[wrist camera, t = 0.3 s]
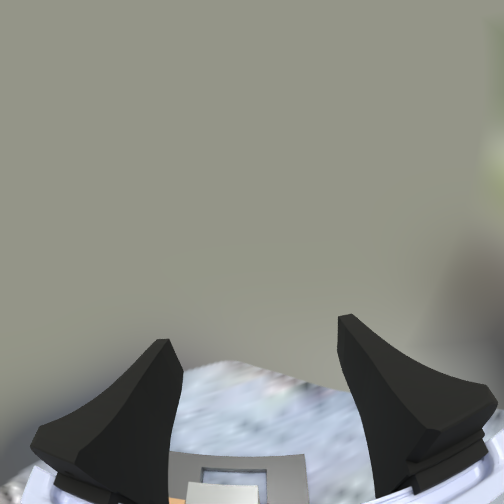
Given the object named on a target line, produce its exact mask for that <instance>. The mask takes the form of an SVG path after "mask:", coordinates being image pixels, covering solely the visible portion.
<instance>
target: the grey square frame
mask: <svg viewBox="0 0 504 504" xmlns="http://www.w3.org/2000/svg"><path fill="white" fill-rule="evenodd" d="M204 470H208V471H222V472H267V504H309V495H308V485H307V475H306V465H305V456H304V454H299V455H287V456H269V457H229V456H211V455H199V454H189V453H181V452H173V451H169V464H168V492H169V504H186V497H187V490H188V482H196V483H202V481H203V472H204Z"/></svg>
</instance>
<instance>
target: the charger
mask: <svg viewBox="0 0 504 504" xmlns="http://www.w3.org/2000/svg"><path fill="white" fill-rule="evenodd" d="M186 504H260V500H259V491H258V486H240V485H218V484H206V483H196V482H188V490H187V497H186Z"/></svg>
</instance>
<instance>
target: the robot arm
mask: <svg viewBox="0 0 504 504" xmlns="http://www.w3.org/2000/svg"><path fill="white" fill-rule="evenodd" d="M337 353H338V357H339V361H340V364H341V368H342V371H343V374H344V376H345V379H346V381H347V384H348V386H349V389H350V391H351V394H352V396H353V399H354V401H355V404H356V406H357V409H358V411H359V414H360V417H361V420H362V424H363V428H364V432H365V436H366V441H367V445H368V450H369V455H370V460H371V466H372V472H373V479H374V487H375V497H376V499H375V500H372V501H368V502H365V503H362V504H490V503H491V502H492V501H494V500H495V499H496V498H497V497H498V496H500V495H501V494H502V493H503V492H504V429H502V430H501V431H500V432H498V433H497V434H495V435H494V436H493V437H491V438H490V439H489V440H488V441H487V442H485V443H484V441H483V439H482V438H483V437H484V436H485V433H484V431H483V429H482V427H483V426H484V425H485V424H486V422H487V421H488V420H489V419H490V417H491V416H492V415H493V413H494V412H495V410H496V408H497V405H498V401H497V400H496V398H495V397H494V395H493V394H492V392H491V391H490V389H489V388H488V387H487V386H486V385H484V384H478V383H474V382H469V381H465V380H461V379H458V378H455V377H451V376H448V375H446V374H443V373H440V372H438V371H436V370H433V369H431V368H429V367H427V366H425V365H422V364H421V363H419V362H417V361H415V360H413V359H411V358H410V357H408V356H406V355H405V354H403V353H401V352H400V351H398V350H397V349H395V348H394V347H392V346H391V345H390V344H388V343H387V342H386V341H385V340H383V339H382V338H381V337H379V336H378V335H377V334H376V333H374V332H373V331H372V330H371V329H369V328H368V327H367V326H366V325H365V324H364V323H362V322H361V321H360V320H359V319H358V318H357V317H355V316H354V315H353V314H348V315H343V316H338V344H337ZM183 372H184V371H183V369H182V366H181V364H180V362H179V360H178V358H177V356H176V353H175V351H174V349H173V347H172V344H171V342H170V340H169V339H157V340H156V341H155V342H154V343H153V344H152V345H151V346H150V347H149V348H148V349H147V350H146V351H145V352H144V353H143V354H142V355H141V356H140V357H139V358H138V359H137V360H136V362H135V363H134V364H133V365H132V366H131V367H130V368H129V369H128V370H127V371H126V372H125V373H124V374H123V375H122V376H121V377H119V378H118V379H117V380H116V381H115V382H114V383H113V384H112V385H111V386H110V387H109V388H107V389H106V390H105V391H104V392H102V393H101V394H100V395H98V396H97V397H96V398H94V399H93V400H92V401H90V402H88V403H87V404H85V405H84V406H82V407H81V408H79V409H77V410H76V411H74V412H72V413H70V414H68V415H66V416H64V417H62V418H60V419H58V420H55V421H52V422H50V423H47V424H45V425H42V426H40V427H39V428H38V431H37V432H36V434H35V437H34V439H33V441H32V443H31V445H30V448H31V450H32V451H33V452H34V453H35V454H36V455H37V456H38V457H39V458H40V459H42V460H43V461H44V462H45V463H46V464H48V465H49V466H50V467H52V468H53V469H54V470H56V471H57V472H58V473H57V475H56V476H54V475H53V474H51V473H49V472H47V471H45V470H43V469H41V468H39V467H37V466H34V468H33V470H32V472H31V475H30V477H29V480H28V482H27V485H26V487H25V490H24V493H23V495H22V498H21V501H20V503H21V504H169V492H168V464H169V449H170V439H171V433H172V428H173V424H174V420H175V416H176V412H177V408H178V404H179V399H180V395H181V391H182V383H183Z"/></svg>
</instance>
